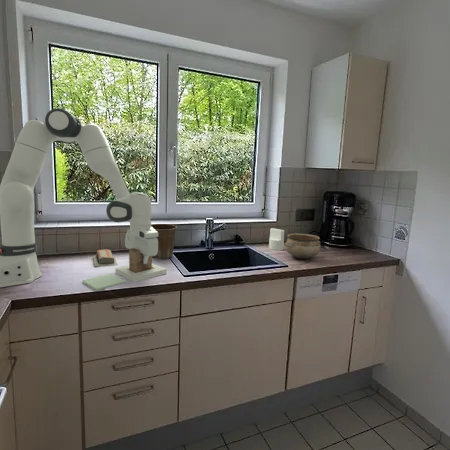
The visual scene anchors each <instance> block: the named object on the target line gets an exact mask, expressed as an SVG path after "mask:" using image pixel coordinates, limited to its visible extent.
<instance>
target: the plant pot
mask: <svg viewBox="0 0 450 450" xmlns="http://www.w3.org/2000/svg"><path fill="white" fill-rule="evenodd" d="M151 226H152V227H153V228H154V229H155V230H156V231H157V232H158V237H156V238H157V239H158V253H157V255H155V256H152V259H161V260H166V259H170V258H172V257H173V255H174V246H175V236H176V232H177V230H176V229H177V228H178V226H177V225H174V224H168V223H154V224H153V223H152V224H151Z"/></svg>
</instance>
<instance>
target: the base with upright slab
mask: <svg viewBox="0 0 450 450" xmlns="http://www.w3.org/2000/svg"><path fill="white" fill-rule="evenodd" d="M269 230H270V231H269V239H268V240H269V242H268V249H269V250H271V251H282V250H284V246H285V245H284V244H285V229H279V228H274V227H271V228H270V229H269Z"/></svg>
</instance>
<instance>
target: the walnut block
mask: <svg viewBox="0 0 450 450" xmlns="http://www.w3.org/2000/svg"><path fill="white" fill-rule="evenodd" d="M128 256H129V257H128V258H129V259H128V266H129V270H130V271H132V272H134V273H138V272H142V271H146V270H150V269H152V264H153V262H152V261H153V258H152V256H149V258H148V263H147V264H143V263H142V259H144V256H143V254H142V253H140V250H138V249H135V248H131V249H128Z"/></svg>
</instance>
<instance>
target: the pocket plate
mask: <svg viewBox="0 0 450 450" xmlns="http://www.w3.org/2000/svg"><path fill="white" fill-rule="evenodd" d="M114 269H115V274H117V275H119V276H121V277H124V278H126V279H128V280H129V281H131V282H139V281H143V280H147V279H151V278H154V277H155V278H156V277H158V276H161V275H165V274H166V275H167V268H166V267H162V266H159V265H157V264H154V263H152V269H150V270H146V271H142V272H138V273H134V272H132V271H130V270H129V265H125V266H120V267H115V268H114Z"/></svg>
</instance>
